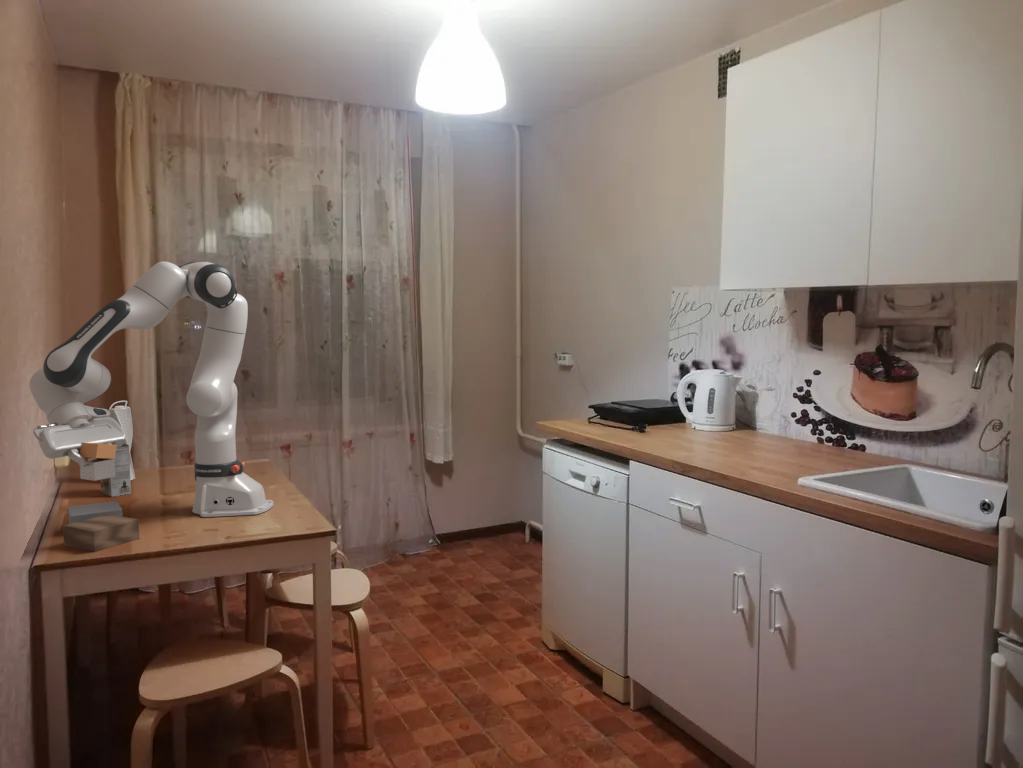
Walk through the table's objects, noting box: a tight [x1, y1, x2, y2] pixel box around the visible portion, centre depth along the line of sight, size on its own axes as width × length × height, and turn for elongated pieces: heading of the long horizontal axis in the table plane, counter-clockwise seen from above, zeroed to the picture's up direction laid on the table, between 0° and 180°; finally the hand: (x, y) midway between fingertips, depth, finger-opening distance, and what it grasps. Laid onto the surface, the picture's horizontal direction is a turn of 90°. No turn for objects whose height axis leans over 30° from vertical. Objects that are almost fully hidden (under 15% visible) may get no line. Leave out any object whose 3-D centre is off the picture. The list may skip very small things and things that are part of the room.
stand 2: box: [62, 514, 140, 553], centre depth 189 cm, size 12×12×5 cm
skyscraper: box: [108, 400, 136, 481], centre depth 259 cm, size 8×8×28 cm
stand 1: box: [67, 500, 124, 524], centre depth 204 cm, size 12×12×5 cm
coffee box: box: [100, 443, 132, 498], centre depth 242 cm, size 9×6×16 cm
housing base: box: [79, 458, 115, 482], centre depth 188 cm, size 6×6×4 cm
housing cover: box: [79, 442, 117, 459], centre depth 188 cm, size 6×6×4 cm
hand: (98, 462), depth 188 cm, fingers closed on housing base, 5 cm apart
